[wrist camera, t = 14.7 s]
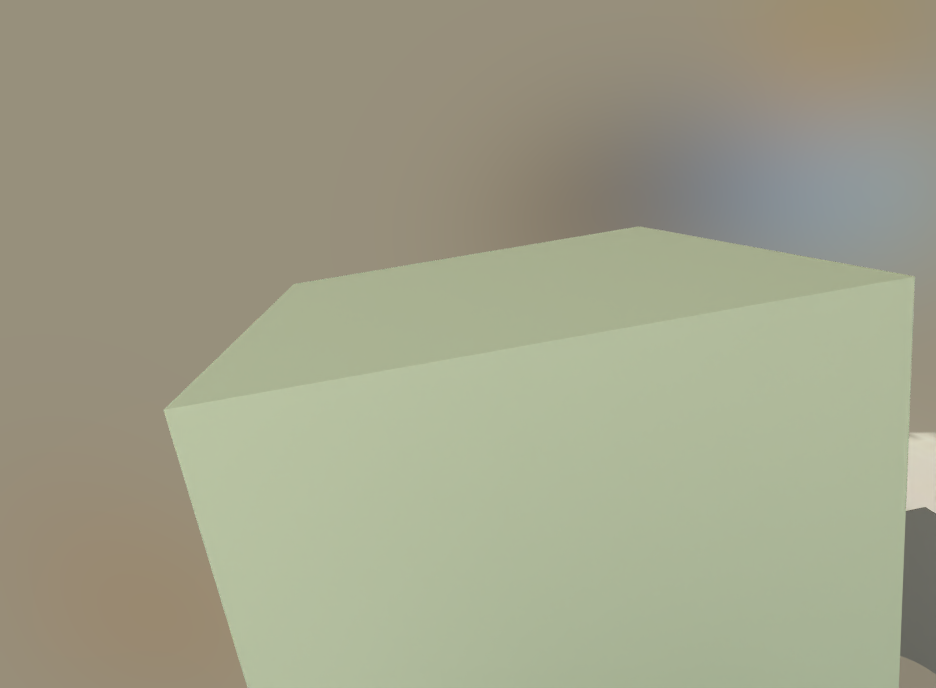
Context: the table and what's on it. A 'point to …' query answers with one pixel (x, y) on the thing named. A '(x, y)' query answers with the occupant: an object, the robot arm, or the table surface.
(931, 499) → the table surface
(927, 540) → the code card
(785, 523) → the sage block
